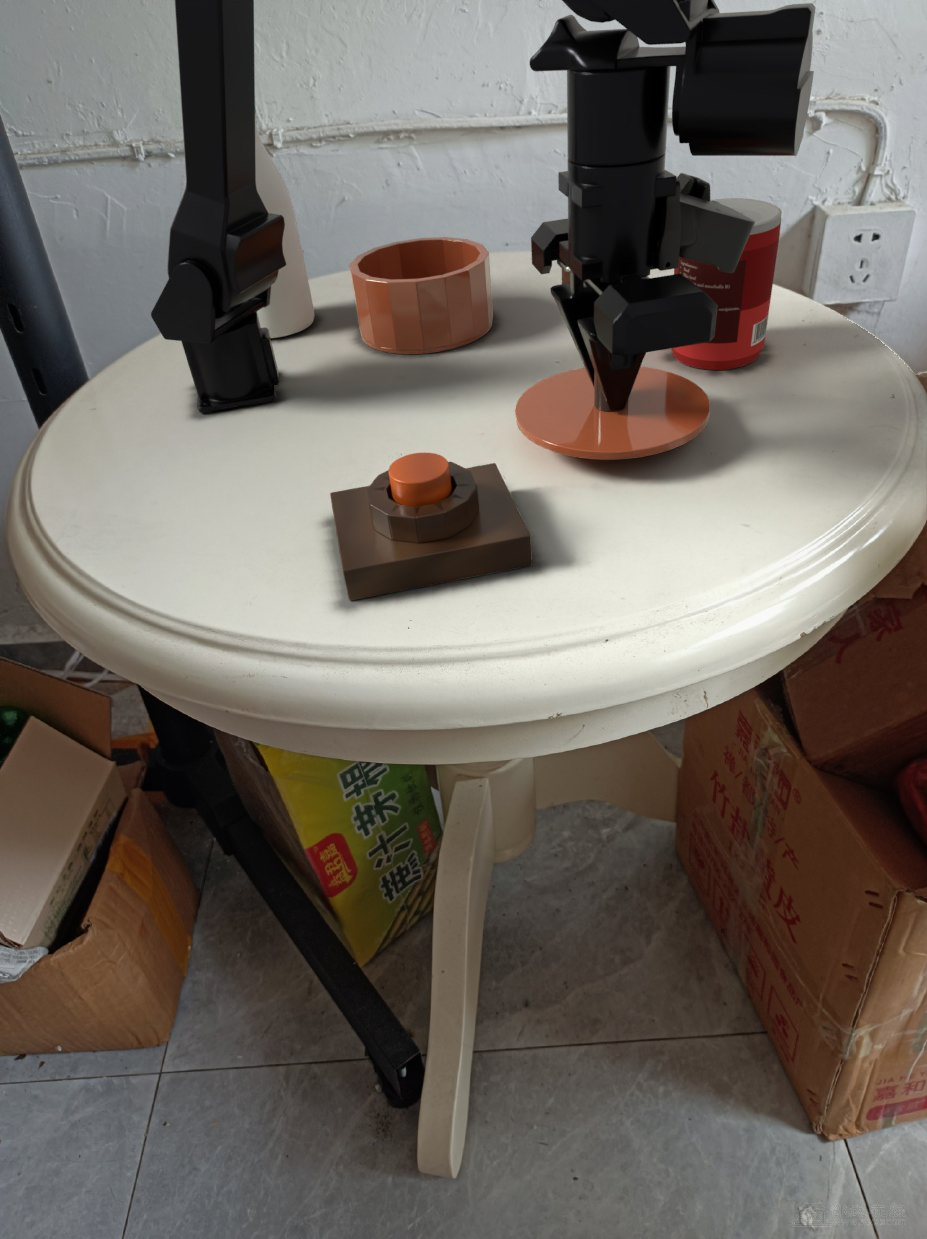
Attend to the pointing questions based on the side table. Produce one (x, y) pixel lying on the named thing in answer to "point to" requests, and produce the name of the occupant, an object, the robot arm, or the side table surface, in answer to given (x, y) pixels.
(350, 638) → the side table surface
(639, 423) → the jar lid
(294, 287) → the milk bottle
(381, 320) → the jar
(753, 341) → the canned food
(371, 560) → the block
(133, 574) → the side table surface
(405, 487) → the button
